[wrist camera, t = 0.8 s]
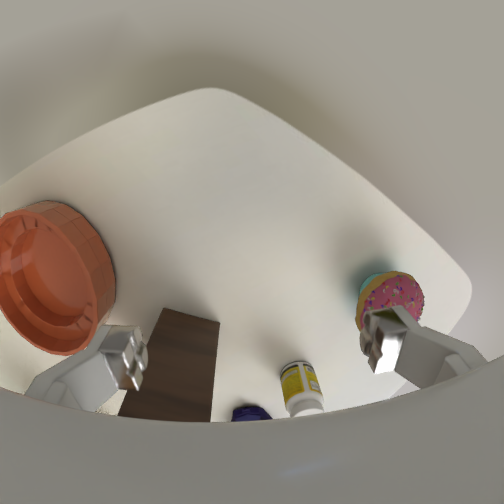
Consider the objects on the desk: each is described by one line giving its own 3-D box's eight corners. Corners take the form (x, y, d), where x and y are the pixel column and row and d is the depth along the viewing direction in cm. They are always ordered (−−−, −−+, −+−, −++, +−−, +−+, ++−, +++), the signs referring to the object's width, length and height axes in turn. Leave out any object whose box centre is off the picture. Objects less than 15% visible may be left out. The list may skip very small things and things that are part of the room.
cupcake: (413, 266, 32) (470, 311, 21) (388, 323, 35) (430, 380, 23) (358, 252, 31) (410, 301, 20) (333, 315, 34) (368, 381, 22)
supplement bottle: (277, 385, 37) (284, 430, 29) (282, 360, 36) (291, 407, 28) (310, 384, 37) (322, 428, 29) (317, 360, 36) (332, 404, 28)
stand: (163, 307, 32) (82, 517, 8) (220, 322, 33) (202, 548, 9) (155, 355, 35) (100, 536, 10) (206, 369, 36) (186, 558, 11)
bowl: (-3, 236, 28) (-29, 249, 23) (75, 172, 27) (45, 178, 21) (55, 341, 34) (37, 364, 28) (143, 309, 33) (128, 337, 27)
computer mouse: (232, 452, 43) (232, 469, 39) (211, 406, 38) (209, 426, 35) (282, 446, 43) (284, 463, 39) (273, 399, 38) (275, 419, 34)
